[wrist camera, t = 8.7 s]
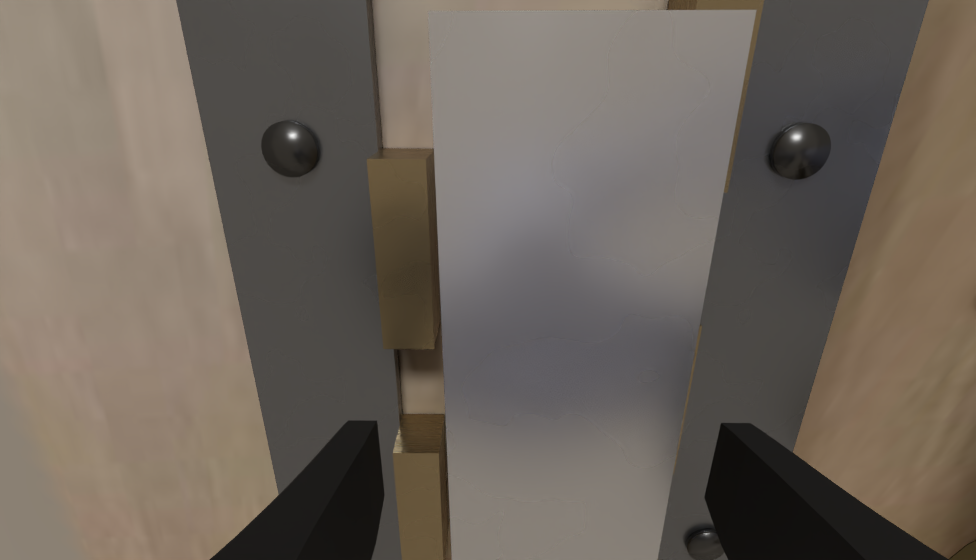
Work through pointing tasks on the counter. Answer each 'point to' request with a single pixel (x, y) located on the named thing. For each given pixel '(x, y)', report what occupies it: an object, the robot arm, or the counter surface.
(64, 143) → the counter surface
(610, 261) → the aluminum bar stock
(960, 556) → the cork
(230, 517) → the counter surface
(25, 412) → the counter surface
